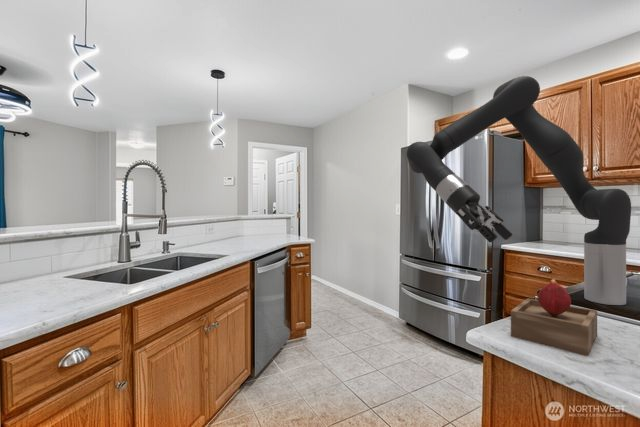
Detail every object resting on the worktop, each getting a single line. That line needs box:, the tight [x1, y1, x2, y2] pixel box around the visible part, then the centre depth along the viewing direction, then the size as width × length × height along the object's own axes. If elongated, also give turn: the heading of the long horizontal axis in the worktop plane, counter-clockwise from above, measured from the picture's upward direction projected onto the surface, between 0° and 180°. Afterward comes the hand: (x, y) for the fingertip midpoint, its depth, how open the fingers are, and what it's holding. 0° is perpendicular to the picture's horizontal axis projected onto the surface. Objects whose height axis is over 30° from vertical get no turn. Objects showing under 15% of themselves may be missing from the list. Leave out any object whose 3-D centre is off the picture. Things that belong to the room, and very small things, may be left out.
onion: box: [537, 279, 572, 316], centre depth 68 cm, size 6×6×8 cm
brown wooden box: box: [510, 298, 598, 357], centre depth 68 cm, size 13×13×6 cm
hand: (502, 238), depth 77 cm, fingers open, 8 cm apart
